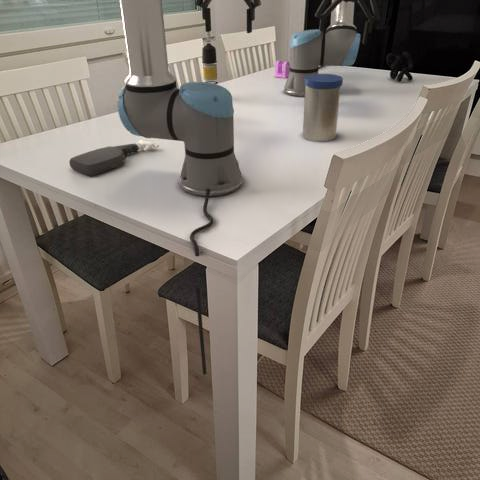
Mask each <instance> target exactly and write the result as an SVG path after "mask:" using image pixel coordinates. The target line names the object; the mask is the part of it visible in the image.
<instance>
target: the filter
mask: <svg viewBox="0 0 480 480" xmlns="http://www.w3.org/2000/svg"><path fill="white" fill-rule="evenodd" d="M205 33H206V39H207V40H206V42H207V43H206V45H204V46H202V49H201V50H202V51H201V52H202V54H201V55H202V57H201V58H202V61H201V63H202V71H203V72H202V73H203V74H202V75H203V80H204V81H206V82H207V83H214V84H217V85H218V84H219V82H218V81H216V80H218V64H216V63H218V61H217V48H216V47H215V46H214V45H212V43H210V42H211V40H210V39H211V31H210V32H206V31H205Z"/></svg>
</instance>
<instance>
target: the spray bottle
mask: <svg viewBox="0 0 480 480" xmlns="http://www.w3.org/2000/svg"><path fill="white" fill-rule="evenodd" d="M159 148H160V145H159V144H158V143H155V142H151V141H148V140H144V139H139V140H138V141H137V142H135V143H129V144H128V143H126V144H122V145H113V146H105V147H100V148H97V149H94V150H90V151H87V152H83V153H81V154H78V155H74V156H73V157H70V159H69V161H68V162H69V167H70V168H71V169H72V170H74V171H75V172H78V173H81V174H83V175H85V176H89V177H90V176H91V177H92V176H95V175H99V174H102V173H105V172H107V171H110V170H113V169H116V168H118V167H120V166H122V165H123V164H124V163H125V158H126V156H127V155H131V154H133V153H138V151H140V150H143V151H144V152H146V151H147V150H149V149H159Z"/></svg>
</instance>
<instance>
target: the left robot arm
mask: <svg viewBox="0 0 480 480" xmlns="http://www.w3.org/2000/svg"><path fill="white" fill-rule="evenodd" d="M212 1H213V0H196V1H195V6H197V7H200V8H201V12H202V13H201V16H202V17H201V18H202V20H203V21H204V24H205V33H206V32H210V33H211V32H212V15H211V7H209V5H210V4H211V3H212ZM243 1H244V2H245V4H246V5H247V6H248V8H246V34H251V33H252V32H253V21H255V19H256V8H258V7H260V6H261V5H262V2H261V0H243ZM119 3H120V9H121V17H122V24H123V32H124V37H125V45H126V51H127V58H128V67H129V74H128V76H127V77H126V78H125V80H124V86H123V87H122V89H121V90H120V92H119V94H118V100H117V113H118V116H119V119H120V121H121V124H122V126H123V127H124V128H125V130H126V131H128V132H129V133H130V134H131V135H133V136H137V137H141V138H144V139H159V140H166V141H167V140H169V141H179V142H183V143H184V154H185V155H184V158H183V164H182V168H181V171H180V177H179V178H180V179H179V183H180V184H179V185H180V188H181V189H182V191H184V192H186V193H187V194H190V195H194V196H199V197H204V202H203V207H202V211H203V214H204V216H205V217H206V218H207V219H208V220H209V222H208V223H206V224H204V225H201V226H199V227H197V228H195V229H194V230H192V231H191V232H190V234H189V240H190V242H191V243H192V245H193V248H194V256H195V257H199V256H200V249H199V248H200V247H199V244H198V242H197V240H196V239H195V235H197V233H199V232H202V231H204V230H206V229H208V228H210V227H211V226H212V225H213V224H214V221H215V220H214V217H213V216H212V215H210V213H208V203H209V198H210V197H221V196H224V195H229V194H232V193H234V192H235V191H237V190H239V189H240V188H241V187H242V185H243V174H242V171H241V168H240V163H239V160H238V158H237V157H236V154H235V132H234V131H235V129H234V127H235V126H234V122H235V121H234V114H235V109H234V104H233V96H232V93H231V91H230V90H228V89H227V88H226V87H224V86H222V85H219V84H218V83H217V84H215V83H214V82H207V81H199V82H198V81H189V82H185V83H183V84H181V85H180V87H179V88H177V87H178V86H177V77H176V76H175V75H174V74H173V73H171V71H170V70H169V60H168V52H167V51H168V50H167V40H166V30H165V21H164V18H165V17H164V10H163V9H164V7H163V0H119ZM195 293H196V296H195V297H196V311H197V322H198V334H199V344H200V345H199V346H200V355H201V366H202V375H204V376H205V375H207V363H206V352H205V351H206V350H205V339H204V330H203V329H204V328H203V327H204V326H203V315H202V302H201V301H202V300H201V299H202V298H201V288H200V287H198V286H195Z"/></svg>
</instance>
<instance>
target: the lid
mask: <svg viewBox="0 0 480 480" xmlns="http://www.w3.org/2000/svg"><path fill="white" fill-rule="evenodd" d="M343 80H344V79H343V76H342V75H341V76H340V75H338V74H331V73H318V74H312V75H308V76H306V77H305V80H304V84H305V85H306V86H308V87H312V88H319V89H330V88H337V87H340V86H341V87H342V85H343V83H344V81H343Z"/></svg>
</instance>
